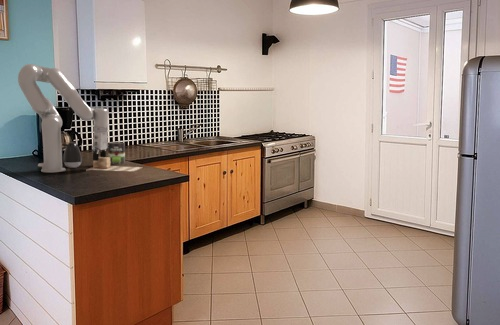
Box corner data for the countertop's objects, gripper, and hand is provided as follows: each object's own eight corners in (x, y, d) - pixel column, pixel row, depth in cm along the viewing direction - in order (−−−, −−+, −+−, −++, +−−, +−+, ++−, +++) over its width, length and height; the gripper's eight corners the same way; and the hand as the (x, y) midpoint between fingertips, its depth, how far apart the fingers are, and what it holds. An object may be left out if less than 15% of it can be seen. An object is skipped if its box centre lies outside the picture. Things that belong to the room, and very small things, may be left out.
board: (86, 171, 253) (86, 169, 253) (97, 167, 268) (97, 165, 268) (134, 173, 250) (133, 171, 250) (143, 169, 265) (143, 167, 265)
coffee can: (125, 166, 275) (124, 143, 273) (107, 166, 272) (107, 143, 270) (125, 164, 285) (124, 141, 283) (108, 164, 282) (107, 142, 280)
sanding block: (93, 168, 258) (93, 157, 257) (97, 167, 263) (97, 156, 262) (106, 168, 257) (106, 158, 256) (110, 167, 262) (110, 157, 261)
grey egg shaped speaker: (63, 166, 271) (62, 141, 269) (81, 165, 274) (81, 140, 272) (62, 168, 261) (61, 142, 259) (81, 168, 265) (81, 142, 263)
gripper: (100, 131, 248) (99, 161, 250) (112, 129, 265) (111, 158, 267) (87, 130, 248) (86, 160, 250) (100, 128, 265) (99, 157, 268)
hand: (99, 159), depth 259 cm, fingers open, 9 cm apart
